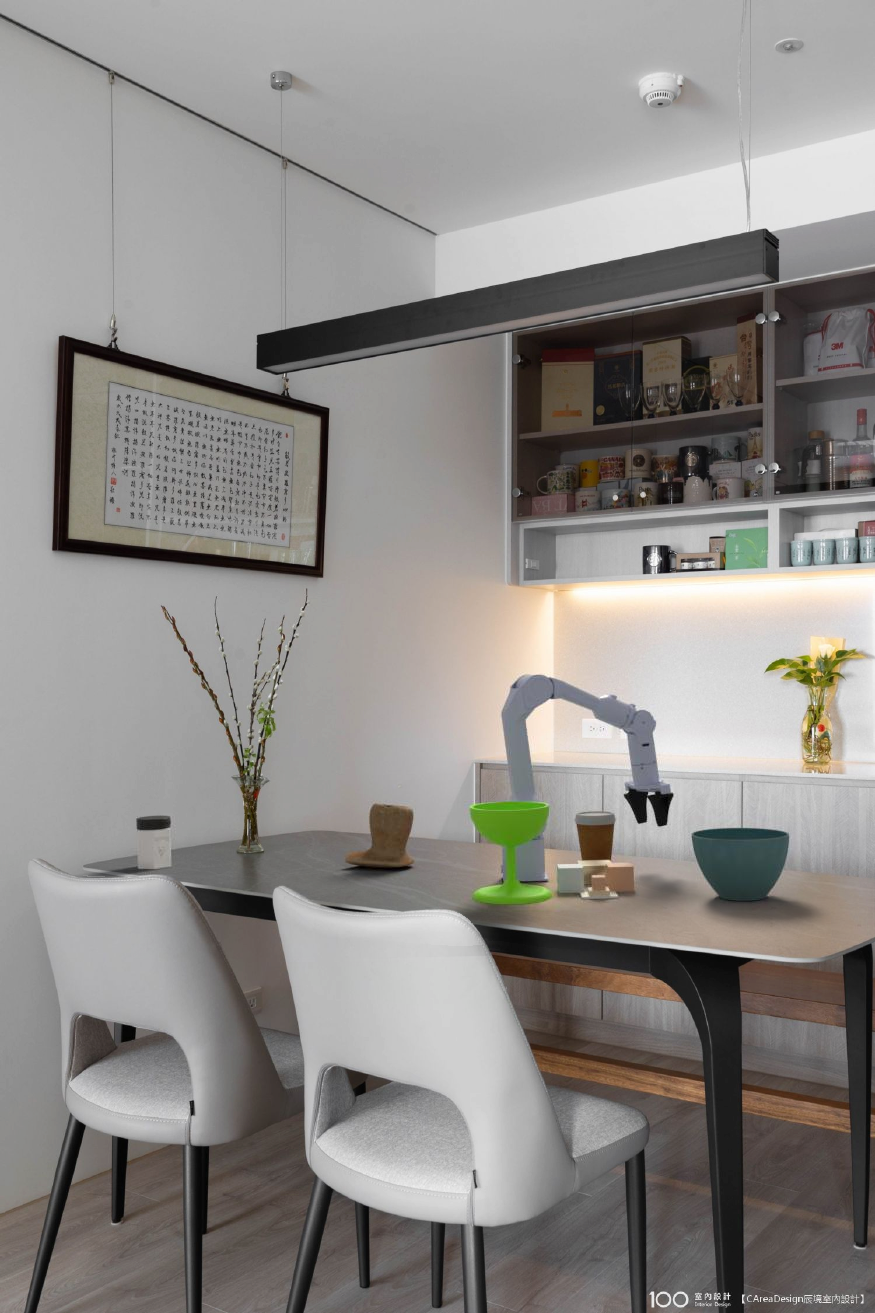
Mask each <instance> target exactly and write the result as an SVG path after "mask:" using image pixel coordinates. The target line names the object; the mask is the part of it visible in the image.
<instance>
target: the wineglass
mask: <svg viewBox="0 0 875 1313" xmlns="http://www.w3.org/2000/svg"><path fill="white" fill-rule="evenodd" d="M469 812H470V813H469V814H470V818H471V821H472V822H473V825H474V828H475V829H476V830H477V831H478V833H479V835H481V836H482V837H483V838H485V839H486V840H488V841H489V842H490V843H492V844H495V845H499V846H501V847H502V846H506V865H507V878H506V880H505V882H504V881H503V883H502V884H495V885H488V886H484V887H481V888H478V889H477V890H476V891H474V893H472V898H471V899H473V900H474V901H476V902H478V903H484V904H491V905H492V904H493V905H524V904H525V905H527V904H534V903H541V902H544V901H547V900H550V899H551V898H553V894H552V891H551V890H550V889H548V888H547V887H544V886H540V885H535V884H525V883H521V881H518V879H517V877H516V850H515V846H519V845H522V844H524V843H527V842H529V841H531V840H532V839H533V838H534V837H536V836H537V835H538V834H539V833H540V832H541V830H542V829H543V827H544V826H545V824H546V821H548V818H549V815H550V804H549V803H548V802H540V801H539V802H526V801H510V800H509V801H494V802H493V801H492V802H484V803H481V802H480V803H475V804H472V805H470V806H469Z"/></svg>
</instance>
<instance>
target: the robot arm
mask: <svg viewBox="0 0 875 1313" xmlns="http://www.w3.org/2000/svg"><path fill="white" fill-rule="evenodd" d="M509 687H510V688H509V693H508V695H507V697H506V699H505V702H504V704H503V707H502V710H501V716H500V717H501V722H502V730H503V738H504V745H505V753H506V754H505V755H506V761H507V769H508V775H509V776H508V777H509V782H510V791H511V795H510V799H509V801H526V802H540V799H539V797H538V795H537V793H536V790H535V782H534V781H535V780H534V775H533V774H534V773H533V765H532V758H531V751H530V744H529V736H528V727H527V719H528V717H529V716H530V715H531V714H532V713H533V712H534V711H535V709H536V708H538V707H541V705H543V704H545V703H546V702H547V701H549V700H559V699H561V700H563V701H567V702H569V703H571V704H574V705H576V706H580V707H582V708H585V709H587V710H589V711H592V713H593V716H594V719H596V720H599V721H600V722H603V723H606V724H608V725H610V726H612V727H614V728H618V729H620V730H622V731H623V732H624V733H625V734H626V738H627V745H628V751H629V752H628V753H629V761H630V768H631V775H632V780H630V781H625V782H624V787H625V789H624V790H625V791H627V793H626V792H625V793H623V798H624V799H625V800H626V802H627V803H628V804H629V806H630V808H631V810H632V812H633V815H634V817H635V820H636V823H637V824H638V825H640V824H641V825H642V824H645V823H648V811H647V810H648V808H647V806H648V805H647V803H648V801H649V803H650V805H651V807H652V810H653V814H654V818H655V823H656V826H657V827H664V826H668V820H669V811H670V807H671V803H672V800H673V798H674V797H675V796H674V792H672V791H671V785H670V784H671V783H666V782H664V779H660V775H659V769H658V759H657V754H656V753H657V752H656V747H655V740H654V738H655V737H654V731H655V729H656V727H657V720H655V718H654V715H652V712H650V711H648V710H645V709H638V708H636V706H637V705H636V704H634V703H627V702H624V701H622V700H619V699H617V698H618V696H617V695H615V694H611V693H610V694H609V695H607V694H603V695H601V696H600V697H598V696H595V695H594V694H592V693H589V692H588V691H584V690H583V689H580V688H579V687H576V686H574V685H572V684H570V683H568V682H567V681H566V682H565V681H564V680H561V679H557V678H554V677H550V676H549V677H548V676H547V675H545V674H542V673H537V674H536V673H535V674H527V673H526V674H523V675H521V676H519V677H518V678H517V679H516V680H514V682H513V683H512V684H511V685H510V686H509ZM649 793H653V794H649ZM648 794H649V795H648ZM547 821H548V820H547ZM547 821H546V824H545V826H544V827H543V829H542V830H541V832H540V833H539V834H538V835H537V836H536V837H534V838H533V839H532V840H531V841H529V842H527V843H524V844H522V845H519V846H515V850H516V877H517V879H518V881H519V882H545V881H546V882H547V881H549V877H548V873H547V872H546V860H545V859H546V858H545V857H546V856H545V855H546V854H545V834H543V833H545V830H546V829H547V828H546V827H547V823H548V822H547ZM501 858H502V864H500V871H501V872H500V873H501V874H502V880H503V883H504V882H505V880H506V878H507V865H506V846H501Z"/></svg>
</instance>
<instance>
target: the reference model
mask: <svg viewBox="0 0 875 1313" xmlns="http://www.w3.org/2000/svg"><path fill="white" fill-rule="evenodd" d="M591 879H592V884H591V887H589V886H588V887H587V891H584V892H580V893H579V894H580V897H581V899H582V900H595V899H596V900H599V899H606V900H607V899H619V895H618V894H617V893H618V892H615V891H610V890H609V888H608V887H607V884H606V880H605V876H604V875H591Z"/></svg>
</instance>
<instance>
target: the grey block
mask: <svg viewBox="0 0 875 1313" xmlns="http://www.w3.org/2000/svg"><path fill="white" fill-rule="evenodd" d="M556 873H557V874H556V877H557V878H556V880H557V890H558V893H559V894H574V893H577V894H578V893H579V894H580V892H585V884H584V869H583V866H582V864H577V863H562V864H561V863H560V864H559V863H557V864H556Z"/></svg>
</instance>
